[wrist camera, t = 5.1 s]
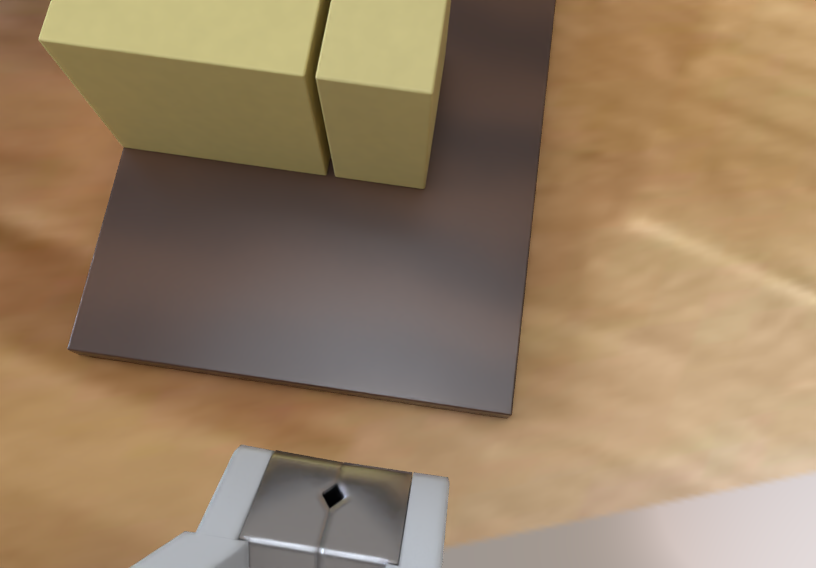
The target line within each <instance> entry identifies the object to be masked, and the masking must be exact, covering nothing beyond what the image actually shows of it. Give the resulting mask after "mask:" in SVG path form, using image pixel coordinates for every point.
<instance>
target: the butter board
mask: <svg viewBox="0 0 816 568" xmlns="http://www.w3.org/2000/svg"><path fill="white" fill-rule="evenodd" d="M555 2H556V0H451V6H450V16H449V25H448V34H447V44H446V53H445V60H444V67H443V74H442V80H441V87H440V93H439V100H438V107H437V113H436V120H435V126H434V133H433V140H432V146H431V153H430V159H429V166H428V173H427V179H426V186H425V188H424V189H419V188H412V187H405V186H397V185H390V184H383V183H376V182H369V181H362V180H355V179H348V178H340V177H336V176H335V173H334V168H333V163H332V158H331V156H330V161H329V166H328V171H327V175H318V174H311V173H303V172H296V171H289V170H282V169H275V168H268V167H261V166H254V165H246V164H239V163H232V162H225V161H218V160H211V159H204V158H197V157H189V156H182V155H175V154H168V153H161V152H154V151H147V150H140V149H132V148H125V147H124V148H123V152H122V155H121V159H120V163H119V166H118V170H117V173H116V177H115V180H114V184H113V188H112V191H111V195H110V198H109V202H108V205H107V209H106V213H105V216H104V220H103V223H102V227H101V230H100V234H99V238H98V241H97V245H96V248H95V252H94V255H93V259H92V263H91V266H90V270H89V273H88V277H87V280H86V284H85V288H84V291H83V295H82V298H81V302H80V305H79V309H78V312H77V316H76V320H75V323H74V327H73V330H72V334H71V337H70V341H69V345H68V350H70V351H72V352H74V353H76V354H79V355H85V356H92V357H98V358H105V359H112V360H118V361H125V362H132V363H139V364H145V365H152V366H159V367H165V368H172V369H179V370H186V371H192V372H199V373H206V374H212V375H219V376H226V377H233V378H239V379H246V380H253V381H260V382H266V383H273V384H280V385H286V386H293V387H300V388H307V389H313V390H320V391H327V392H333V393H340V394H347V395H354V396H360V397H367V398H374V399H380V400H387V401H394V402H401V403H407V404H414V405H421V406H427V407H434V408H441V409H448V410H454V411H461V412H468V413H474V414H481V415H488V416H495V417H501V418H508V417H510V416H511V415H512V408H513V398H514V389H515V379H516V370H517V361H518V351H519V342H520V332H521V323H522V313H523V304H524V294H525V285H526V276H527V266H528V257H529V247H530V238H531V228H532V219H533V209H534V200H535V191H536V181H537V172H538V162H539V153H540V143H541V134H542V124H543V115H544V106H545V96H546V87H547V77H548V68H549V58H550V49H551V39H552V30H553V21H554V11H555Z"/></svg>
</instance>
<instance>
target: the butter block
mask: <svg viewBox="0 0 816 568" xmlns="http://www.w3.org/2000/svg"><path fill="white" fill-rule="evenodd" d="M330 3H331V0H51V2H50V5H49V8H48V11H47V14H46V17H45V20H44V23H43V26H42V29H41V32H40V35H39V41H40V43H41V44H42V45H43V47H44V48H45V49H46V50H47V52H48V53H49V54H50V55H51V57H52V58H53V59H54V60H55V62H56V63H57V64H58V65H59V67H60V68H61V69H62V70H63V72H64V73H65V74H66V76H67V77H68V78H69V79H70V81H71V82H72V83H73V84H74V86H75V87H76V88H77V89H78V91H79V92H80V93H81V94H82V96H83V97H84V98H85V99H86V101H87V102H88V103H89V105H90V106H91V107H92V108H93V110H94V111H95V112H96V113H97V115H98V116H99V117H100V118H101V120H102V121H103V122H104V123H105V125H106V126H107V127H108V128H109V130H110V131H111V132H112V134H113V135H114V136H115V137H116V139H117V140H118V141H119V142H120V144H121V145H122V146H123V147H125V148H132V149H140V150H147V151H154V152H161V153H168V154H175V155H182V156H189V157H197V158H204V159H211V160H218V161H225V162H232V163H239V164H246V165H254V166H261V167H268V168H275V169H282V170H289V171H296V172H303V173H311V174H318V175H327V171H328V166H329V161H330V156H331V153H330V148H329V143H328V138H327V133H326V128H325V123H324V118H323V113H322V108H321V103H320V98H319V93H318V88H317V83H316V78H315V76H316V71H317V66H318V61H319V56H320V51H321V47H322V42H323V37H324V32H325V27H326V22H327V17H328V13H329V8H330Z"/></svg>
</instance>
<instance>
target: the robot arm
mask: <svg viewBox="0 0 816 568" xmlns="http://www.w3.org/2000/svg"><path fill="white" fill-rule="evenodd" d="M411 479H412V482H411ZM449 484H450V483H449V480H448V477H442V476H435V475H428V474H421V473H413V476H412V472H406V471H399V470H392V469H386V468H379V467H372V466H365V465H359V464H352V463H345V462H344V463H343V462H337V461H332V460H326V459H321V458H315V457H310V456H304V455H299V454H293V453H288V452H282V451H277V450H276V451H272V450H267V449H261V448H256V447H251V446H246V445H240V446H239V447H238V448H237V449H236V450H235V451H234V453H233V455H232V457H231V459H230V461H229V463H228V465H227V468H226V470H225V472H224V474H223V476H222V478H221V480H220V482H219V484H218V487H217V489H216V491H215V493H214V495H213V497H212V499H211V501H210V503H209V505H208V508H207V510H206V512H205V514H204V516H203V518H202V520H201V522H200V524H199V527H198V529H197V531H196V533H194V532H187V531H184V532H183V533H181V534H180V535H178V536H177V537H175V538H174V539H172V540H171V541H169V542H168V543H166V544H165V545H163V546H162V547H160V548H159V549H157V550H156V551H154V552H153V553H151V554H150V555H148V556H147V557H145V558H143V559H142V560H140V561H139V562H137V563H136V564H134V565H133V566H131V567H130V568H442V562H443V561H442V560H443V550H444V539H445V528H446V517H447V506H448V495H449ZM410 487H411V489H410Z"/></svg>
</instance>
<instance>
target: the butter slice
mask: <svg viewBox="0 0 816 568" xmlns="http://www.w3.org/2000/svg"><path fill="white" fill-rule="evenodd" d="M450 6H451V0H331V3H330V8H329V13H328V17H327V22H326V27H325V32H324V37H323V42H322V47H321V51H320V56H319V61H318V66H317V71H316V76H315V78H316V83H317V88H318V93H319V98H320V103H321V108H322V113H323V118H324V123H325V128H326V133H327V138H328V143H329V148H330V153H331V158H332V163H333V168H334V173H335V176H336V177H340V178H348V179H355V180H362V181H369V182H376V183H383V184H390V185H397V186H405V187H412V188H419V189H424V188H425V186H426V179H427V173H428V166H429V159H430V153H431V146H432V140H433V133H434V126H435V120H436V113H437V107H438V100H439V93H440V87H441V80H442V74H443V67H444V60H445V53H446V44H447V34H448V25H449V16H450Z"/></svg>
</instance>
